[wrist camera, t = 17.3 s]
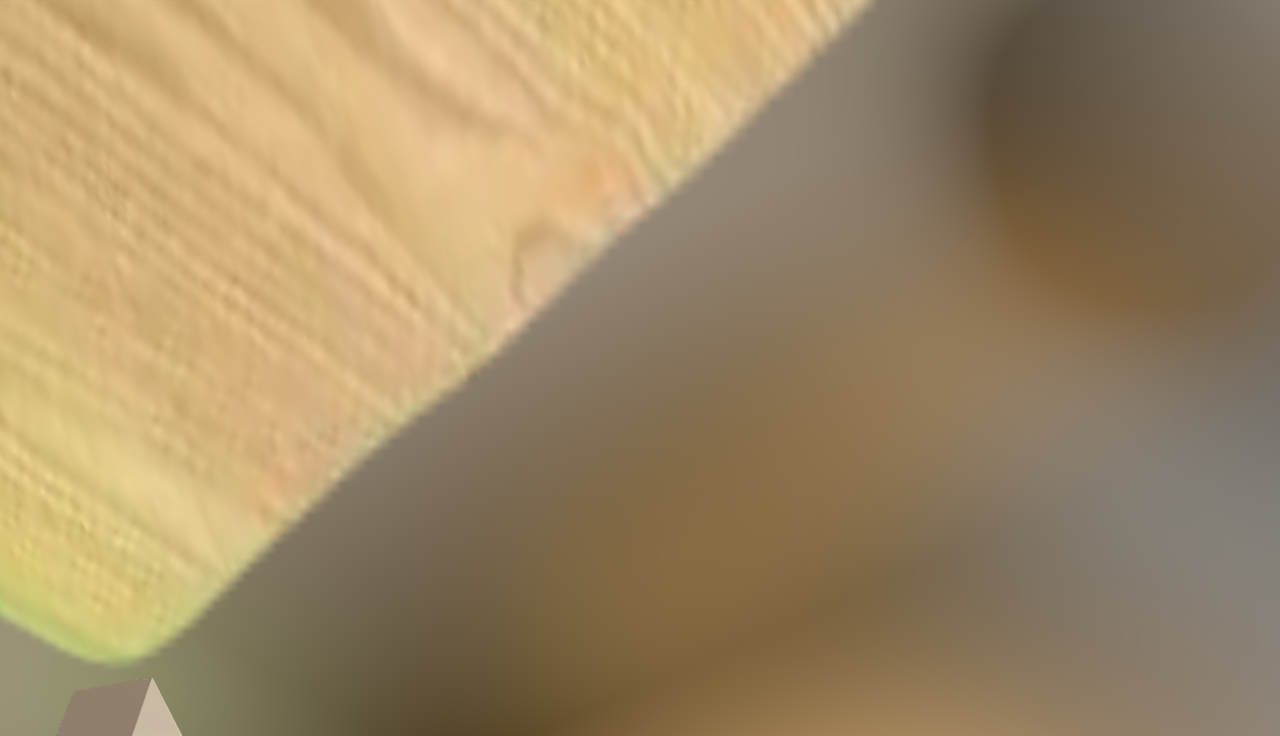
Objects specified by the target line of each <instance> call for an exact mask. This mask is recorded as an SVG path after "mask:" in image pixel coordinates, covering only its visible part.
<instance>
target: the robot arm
mask: <svg viewBox="0 0 1280 736" xmlns="http://www.w3.org/2000/svg"><path fill="white" fill-rule="evenodd" d="M56 736H182V734H181V733H180V731H179V729H178V727H177V725H176V723H175V721H174V719H173V717H172V715H171V713H170V711H169V709H168V707H167V706H166V703H165V701H164V700H163V698H162V696H161V694H160V692H159V690H158V688H157V686H156V684H155V682H154V680H153V679H152V677H151V678H146V679H140V680H134V681H129V682H123V683H117V684H111V685H105V686H100V687H94V688H88V689H83V690H77V691H74V693H73V695H72V698H71V700H70V703H69V705H68V707H67V710H66V712H65V715H64V717H63V720H62V722H61V724H60V727H59V729H58V732H57V734H56Z"/></svg>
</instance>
